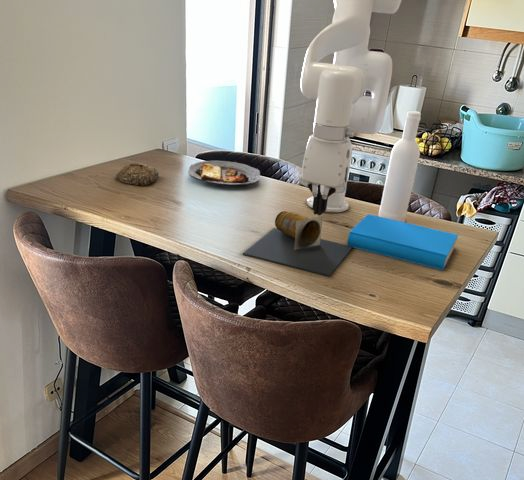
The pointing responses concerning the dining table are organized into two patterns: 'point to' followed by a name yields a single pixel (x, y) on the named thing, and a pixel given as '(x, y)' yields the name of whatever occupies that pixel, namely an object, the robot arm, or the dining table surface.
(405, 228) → the book
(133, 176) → the bread roll
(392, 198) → the bottle
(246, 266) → the dining table surface
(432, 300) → the dining table surface
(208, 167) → the food plate
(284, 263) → the mat
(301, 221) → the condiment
